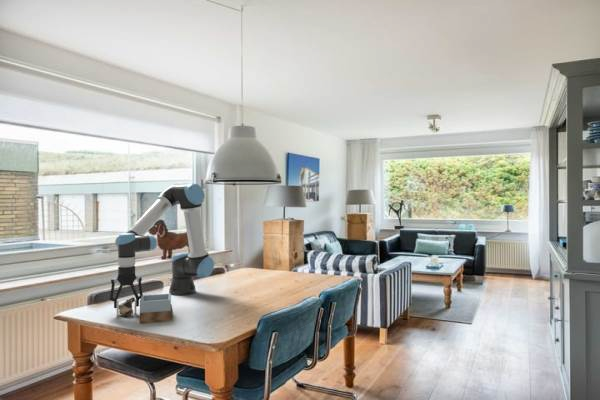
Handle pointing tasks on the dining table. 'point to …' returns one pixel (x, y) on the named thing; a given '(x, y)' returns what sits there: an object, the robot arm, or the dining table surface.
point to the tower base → (156, 316)
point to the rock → (126, 307)
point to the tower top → (155, 303)
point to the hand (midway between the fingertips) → (126, 314)
